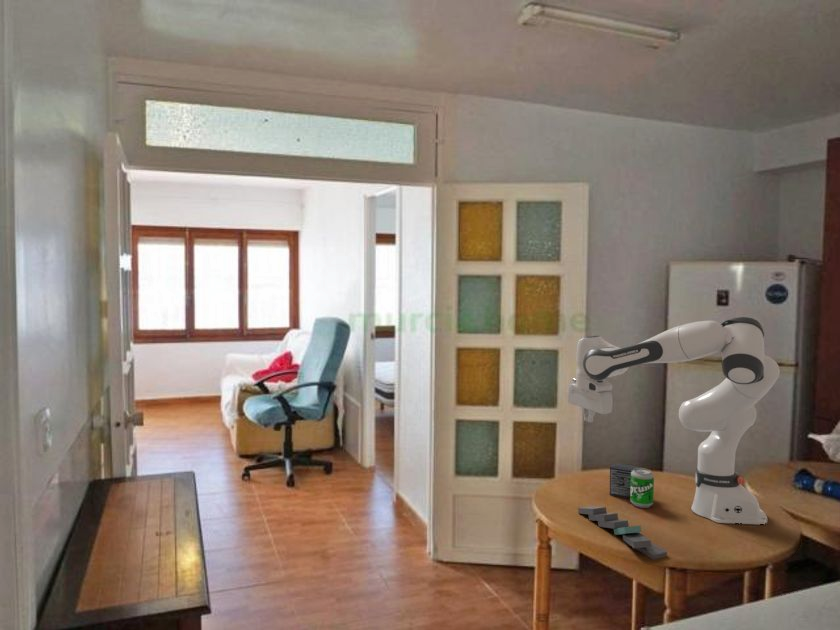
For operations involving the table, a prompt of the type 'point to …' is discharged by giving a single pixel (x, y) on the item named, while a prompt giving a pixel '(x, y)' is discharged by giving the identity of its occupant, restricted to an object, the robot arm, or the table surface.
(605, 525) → the domino
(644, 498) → the soda can
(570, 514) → the table surface
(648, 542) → the domino
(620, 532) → the domino
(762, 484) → the table surface
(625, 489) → the small box
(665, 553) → the domino
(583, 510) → the domino
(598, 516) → the domino
